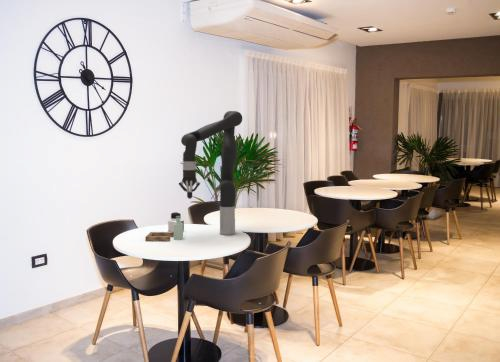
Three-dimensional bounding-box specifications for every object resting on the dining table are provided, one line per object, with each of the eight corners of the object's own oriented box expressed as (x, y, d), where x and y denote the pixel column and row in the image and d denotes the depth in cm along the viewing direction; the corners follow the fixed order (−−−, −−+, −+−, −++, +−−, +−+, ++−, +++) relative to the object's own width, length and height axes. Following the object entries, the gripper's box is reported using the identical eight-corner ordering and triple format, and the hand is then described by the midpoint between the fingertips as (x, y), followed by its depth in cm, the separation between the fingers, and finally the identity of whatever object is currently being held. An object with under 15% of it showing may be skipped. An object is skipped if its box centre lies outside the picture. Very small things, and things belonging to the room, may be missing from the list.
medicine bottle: (175, 233, 294) (175, 214, 292) (168, 231, 298) (167, 212, 297) (184, 231, 299) (183, 212, 298) (176, 229, 304) (175, 211, 302)
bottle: (183, 237, 281) (182, 215, 279) (181, 239, 276) (181, 217, 275) (175, 237, 281) (174, 215, 280) (173, 239, 276) (173, 217, 275)
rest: (173, 236, 285) (173, 232, 285) (169, 241, 272) (169, 237, 272) (150, 236, 286) (150, 232, 285) (145, 241, 273) (145, 237, 272)
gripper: (201, 168, 277) (201, 197, 279) (179, 168, 278) (179, 197, 280) (199, 169, 270) (200, 199, 272) (176, 169, 270) (177, 199, 272)
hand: (189, 198), depth 276 cm, fingers closed
